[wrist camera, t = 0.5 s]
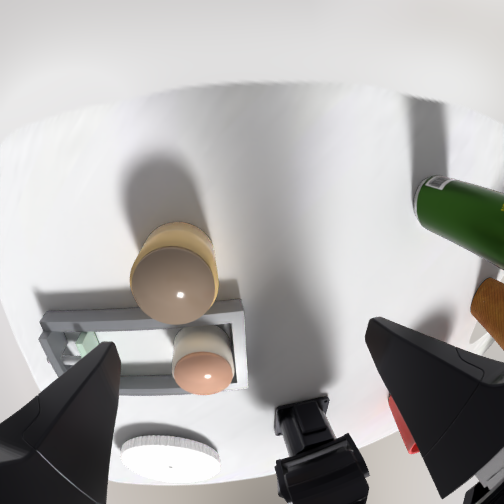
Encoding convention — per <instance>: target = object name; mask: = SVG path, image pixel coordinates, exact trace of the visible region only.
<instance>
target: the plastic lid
mask: <svg viewBox="0 0 504 504" xmlns="http://www.w3.org/2000/svg"><path fill="white" fill-rule="evenodd" d="M120 457H121V460H122V462H123V464H124V465H125V466H126V467H128V469H130V470H132V471H133V472H136V473H137V474H139V475H142V476H145V477H148V478H150V479H153V480H154V479H155V480H159V481H164V482H172V483H174V482H175V483H185V482H187V483H189V482H196V481H202V480H206V479H209V478H211V477H213V476H214V475H216V474H217V473H219V471H220V470H221V463H220V456H219V454H218V453H217V452H216V450H214V449H212V447H209V446H208V445H205V444H202V443H201V442H198V441H194V440H189V439H184V438H180V437H174V436H172V437H170V436H164V435H162V436H160V435H157V436H155V435H152V436H150V435H148V436H144V437H142V436H140V437H136V438H133V439H130V440H127V441H126V442H125V443H124V444H123V446H122V448H121V456H120Z"/></svg>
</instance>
